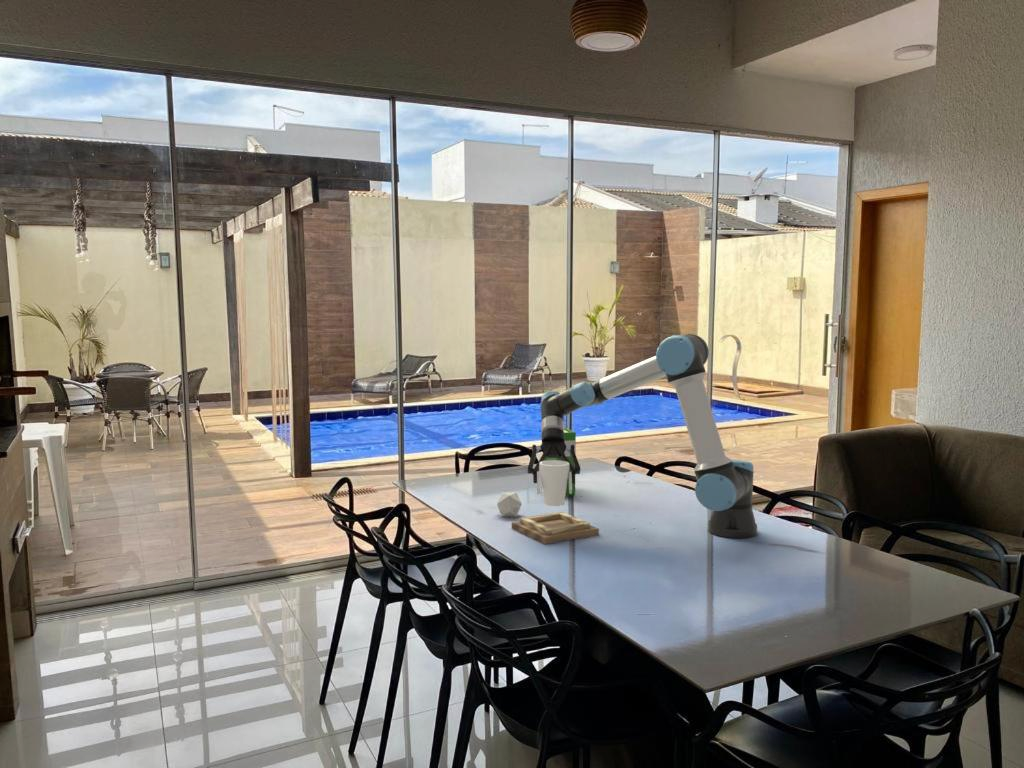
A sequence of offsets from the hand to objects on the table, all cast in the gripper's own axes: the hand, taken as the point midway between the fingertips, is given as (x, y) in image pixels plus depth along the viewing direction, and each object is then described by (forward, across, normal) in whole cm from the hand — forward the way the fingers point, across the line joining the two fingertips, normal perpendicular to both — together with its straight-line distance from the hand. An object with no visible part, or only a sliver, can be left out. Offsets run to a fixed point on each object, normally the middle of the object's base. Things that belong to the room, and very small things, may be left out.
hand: (554, 491), depth 250 cm
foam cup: (+1, 0, -6) cm, 6 cm away
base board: (+8, 0, -12) cm, 14 cm away
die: (-6, +14, -26) cm, 30 cm away
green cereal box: (-32, -4, -52) cm, 61 cm away
